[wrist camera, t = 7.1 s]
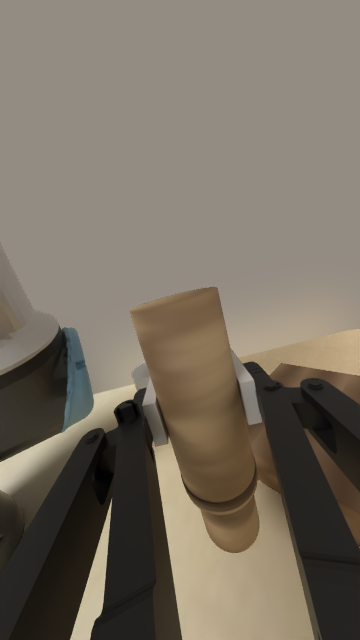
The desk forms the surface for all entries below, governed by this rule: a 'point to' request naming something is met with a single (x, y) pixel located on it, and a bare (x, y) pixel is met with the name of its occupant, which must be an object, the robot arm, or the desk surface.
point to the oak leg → (202, 410)
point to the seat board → (311, 442)
